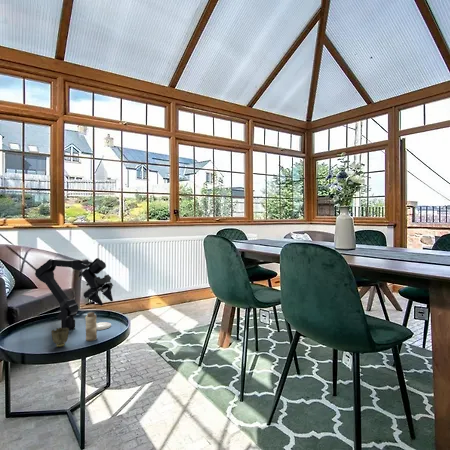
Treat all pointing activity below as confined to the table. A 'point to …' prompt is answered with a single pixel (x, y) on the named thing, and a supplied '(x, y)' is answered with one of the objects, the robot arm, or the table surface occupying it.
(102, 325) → the plate
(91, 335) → the pepper mill
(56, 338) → the cup
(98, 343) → the table surface
